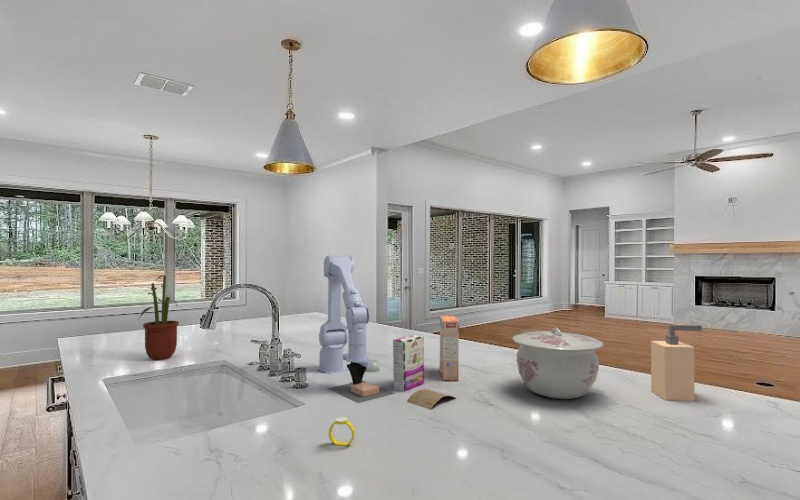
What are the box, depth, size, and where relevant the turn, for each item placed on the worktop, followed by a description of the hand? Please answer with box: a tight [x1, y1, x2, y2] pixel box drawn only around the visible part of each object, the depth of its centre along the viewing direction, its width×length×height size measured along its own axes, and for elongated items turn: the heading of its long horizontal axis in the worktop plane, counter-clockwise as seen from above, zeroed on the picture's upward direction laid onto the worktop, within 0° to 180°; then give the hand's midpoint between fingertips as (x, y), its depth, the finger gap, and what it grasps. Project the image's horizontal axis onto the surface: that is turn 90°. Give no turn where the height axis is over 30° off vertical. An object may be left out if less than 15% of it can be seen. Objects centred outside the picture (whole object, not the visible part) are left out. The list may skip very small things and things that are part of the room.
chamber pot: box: [511, 327, 605, 400], centre depth 139 cm, size 28×28×21 cm
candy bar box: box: [392, 334, 425, 393], centre depth 144 cm, size 11×5×16 cm, turn 143°
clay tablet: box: [406, 388, 456, 410], centre depth 131 cm, size 14×10×3 cm
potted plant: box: [138, 274, 180, 361], centre depth 183 cm, size 17×16×35 cm
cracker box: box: [439, 315, 460, 382], centre depth 158 cm, size 14×6×21 cm, turn 179°
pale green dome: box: [365, 359, 380, 373], centre depth 164 cm, size 6×6×4 cm
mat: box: [326, 379, 396, 404], centre depth 139 cm, size 18×14×1 cm
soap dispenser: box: [650, 324, 703, 402], centre depth 135 cm, size 13×9×22 cm
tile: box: [351, 381, 380, 397], centre depth 137 cm, size 2×6×7 cm
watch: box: [328, 416, 356, 447], centre depth 101 cm, size 6×3×6 cm, turn 79°
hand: (357, 386), depth 141 cm, fingers closed
